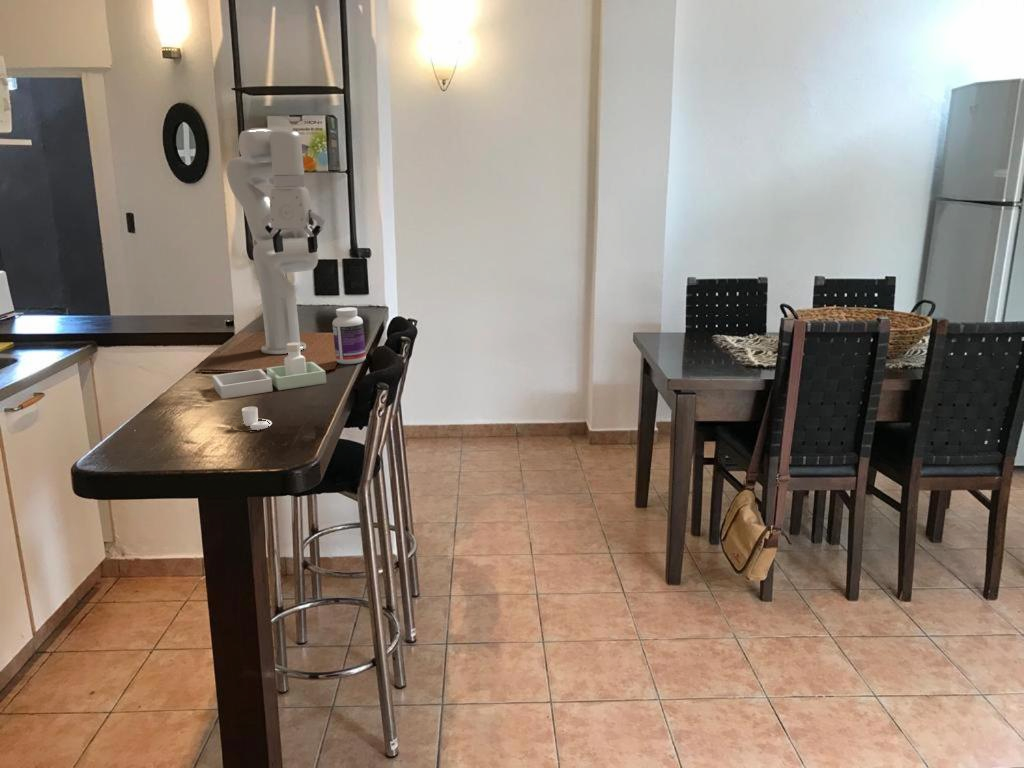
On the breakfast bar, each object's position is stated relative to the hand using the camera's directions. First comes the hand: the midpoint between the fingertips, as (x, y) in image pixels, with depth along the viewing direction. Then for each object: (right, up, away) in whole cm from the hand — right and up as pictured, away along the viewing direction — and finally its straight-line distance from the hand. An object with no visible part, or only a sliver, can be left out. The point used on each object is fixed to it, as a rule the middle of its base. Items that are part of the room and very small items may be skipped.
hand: (296, 252), depth 205 cm
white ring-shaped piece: (0, -43, -40) cm, 59 cm away
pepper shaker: (+1, -33, -4) cm, 33 cm away
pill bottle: (+11, -28, +14) cm, 33 cm away
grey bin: (-10, -35, -11) cm, 38 cm away
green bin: (+1, -33, -5) cm, 33 cm away
